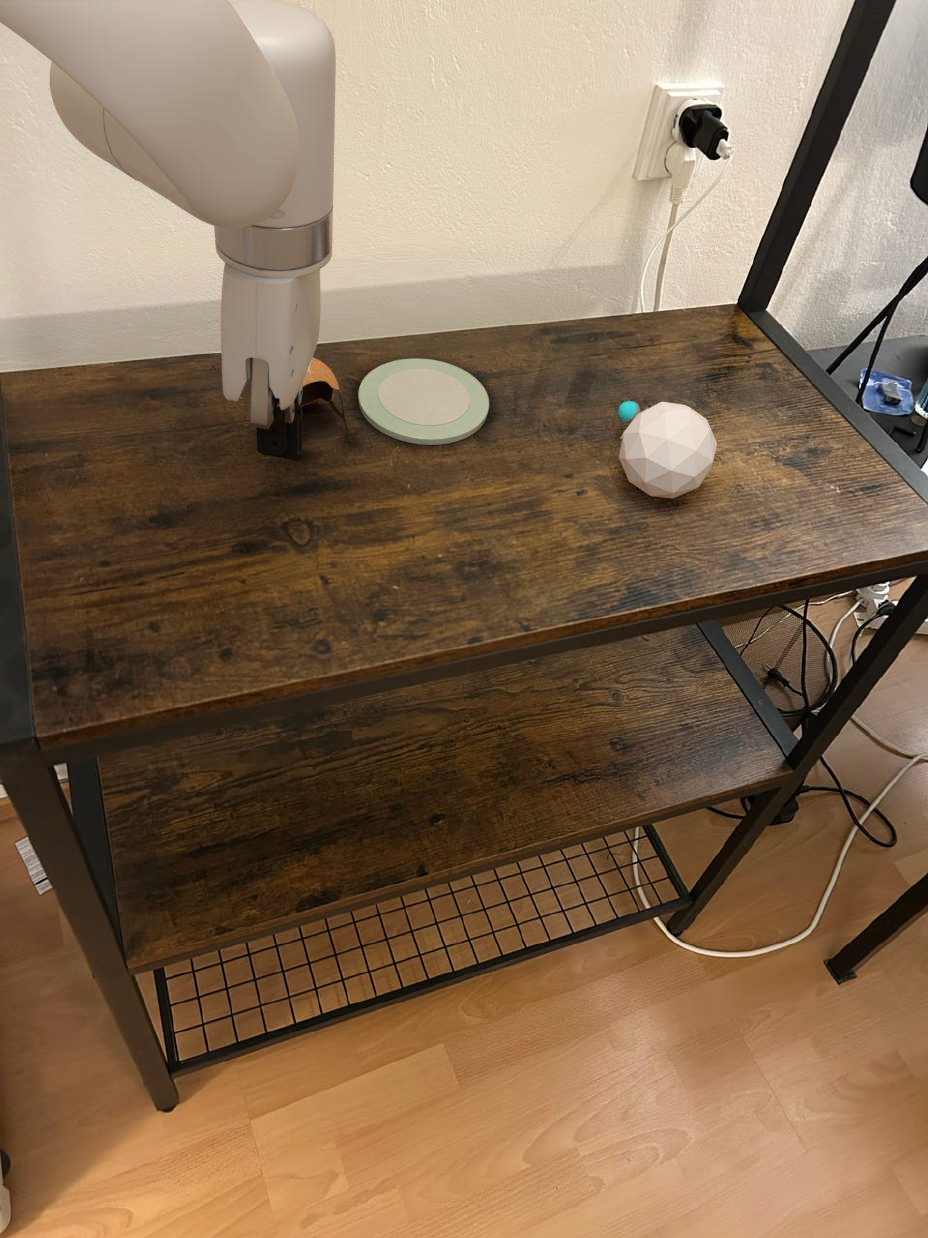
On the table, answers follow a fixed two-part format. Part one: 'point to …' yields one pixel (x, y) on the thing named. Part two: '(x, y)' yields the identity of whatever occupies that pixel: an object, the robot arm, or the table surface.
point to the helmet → (320, 387)
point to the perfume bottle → (665, 448)
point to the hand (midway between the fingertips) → (280, 450)
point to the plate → (423, 401)
